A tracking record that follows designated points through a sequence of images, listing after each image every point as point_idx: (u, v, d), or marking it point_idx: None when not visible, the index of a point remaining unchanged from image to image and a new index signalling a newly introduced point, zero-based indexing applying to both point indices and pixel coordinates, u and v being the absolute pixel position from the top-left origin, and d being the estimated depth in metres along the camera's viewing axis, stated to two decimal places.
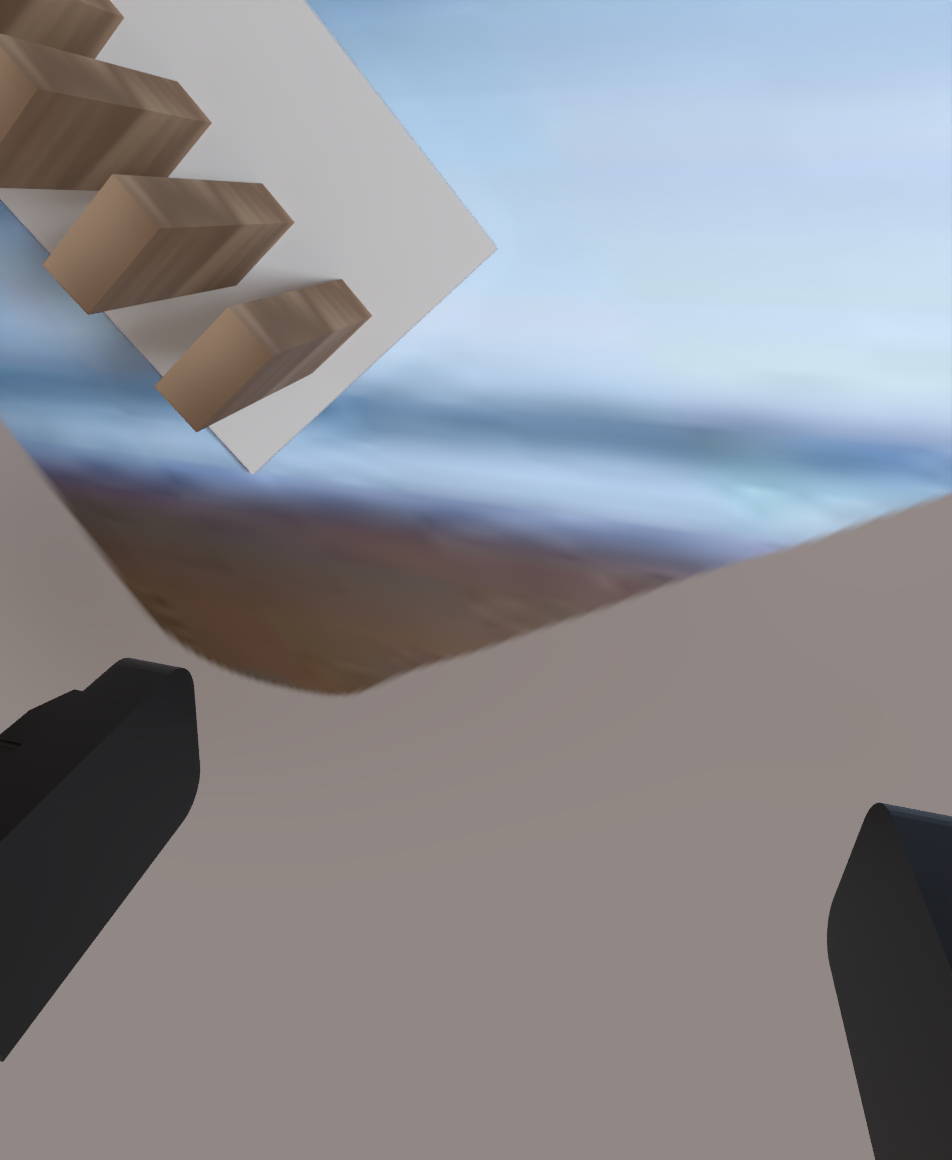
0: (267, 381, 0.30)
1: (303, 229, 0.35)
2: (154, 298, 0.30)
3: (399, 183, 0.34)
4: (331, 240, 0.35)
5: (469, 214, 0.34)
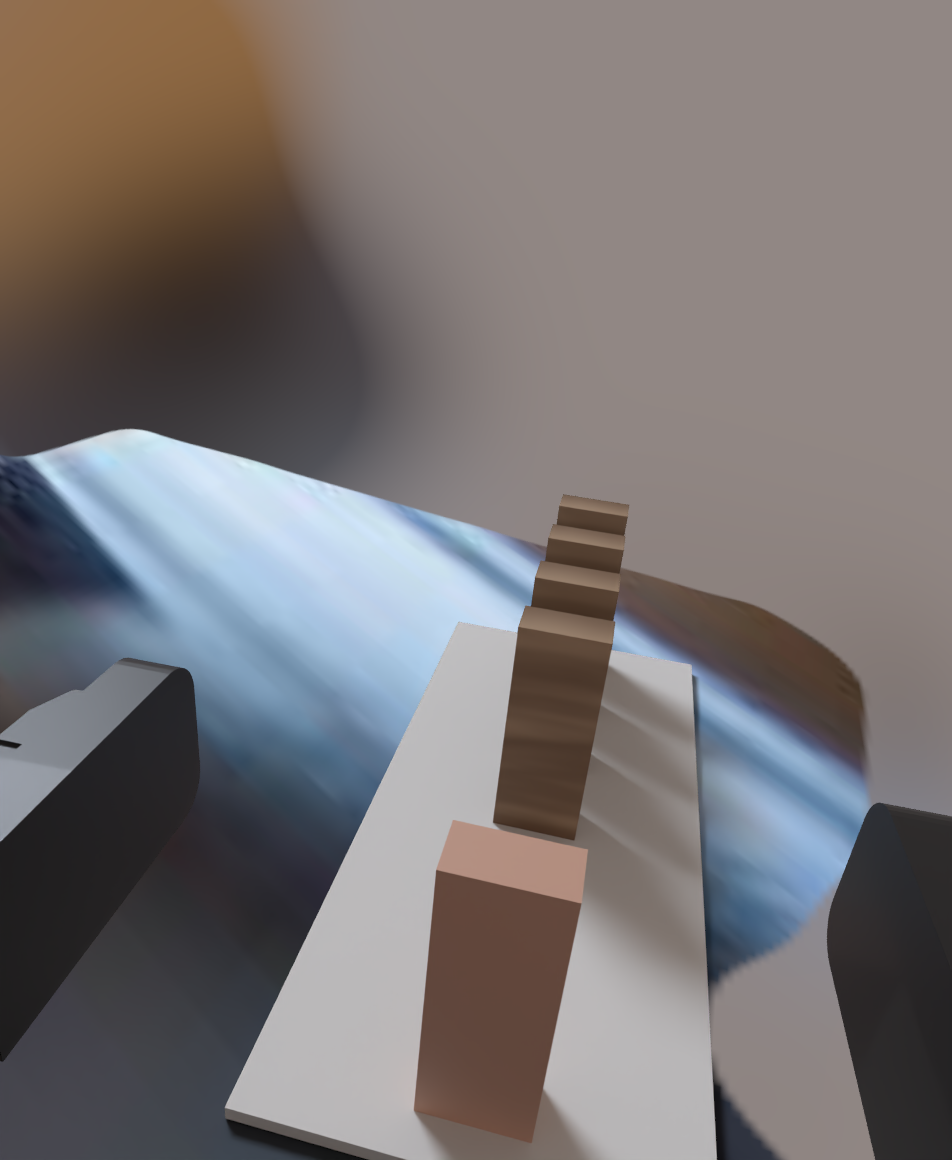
0: None
1: None
2: None
3: (464, 658, 0.52)
4: None
5: None
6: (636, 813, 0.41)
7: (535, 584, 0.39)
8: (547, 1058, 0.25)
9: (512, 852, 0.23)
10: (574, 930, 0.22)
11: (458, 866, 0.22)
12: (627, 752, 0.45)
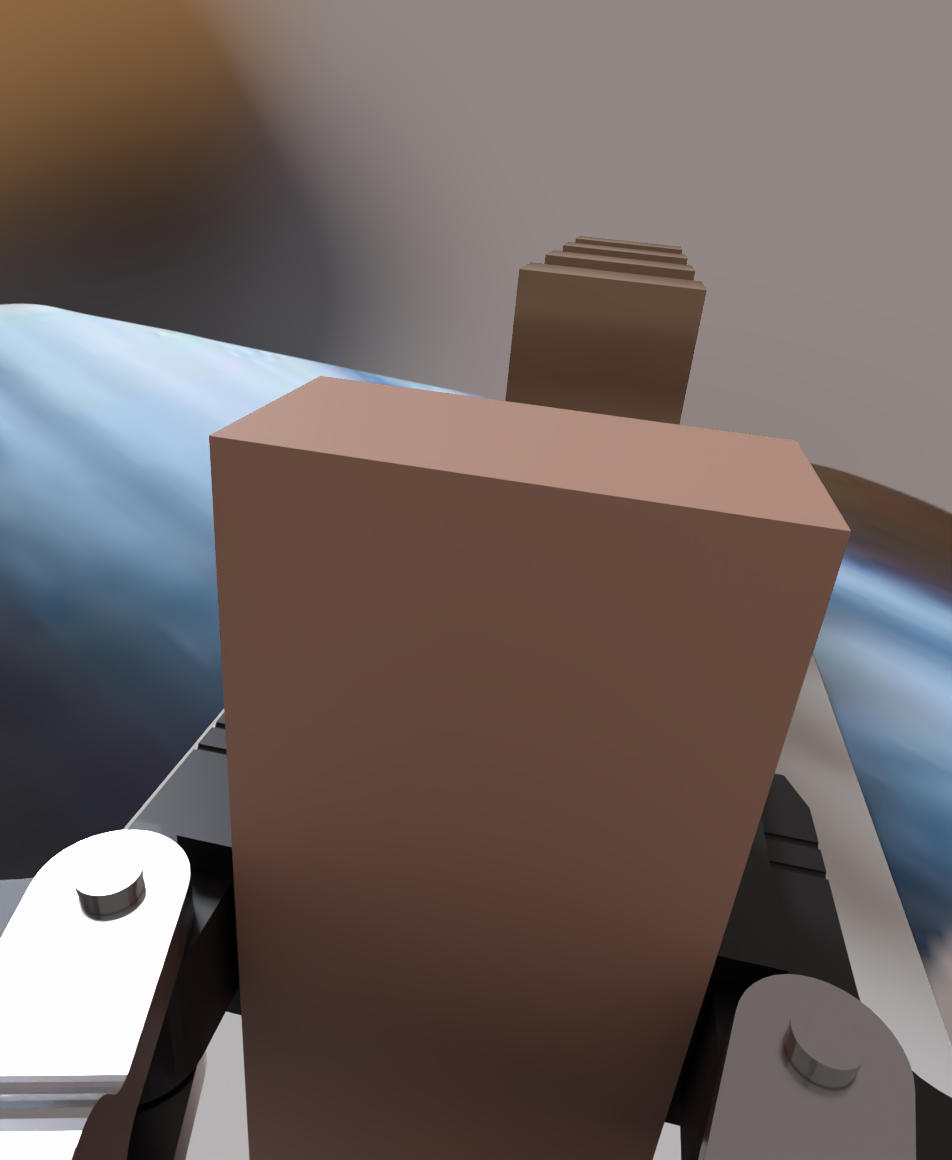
0: None
1: None
2: None
3: None
4: None
5: None
6: None
7: None
8: None
9: (526, 428, 0.06)
10: (798, 679, 0.05)
11: (308, 436, 0.05)
12: None
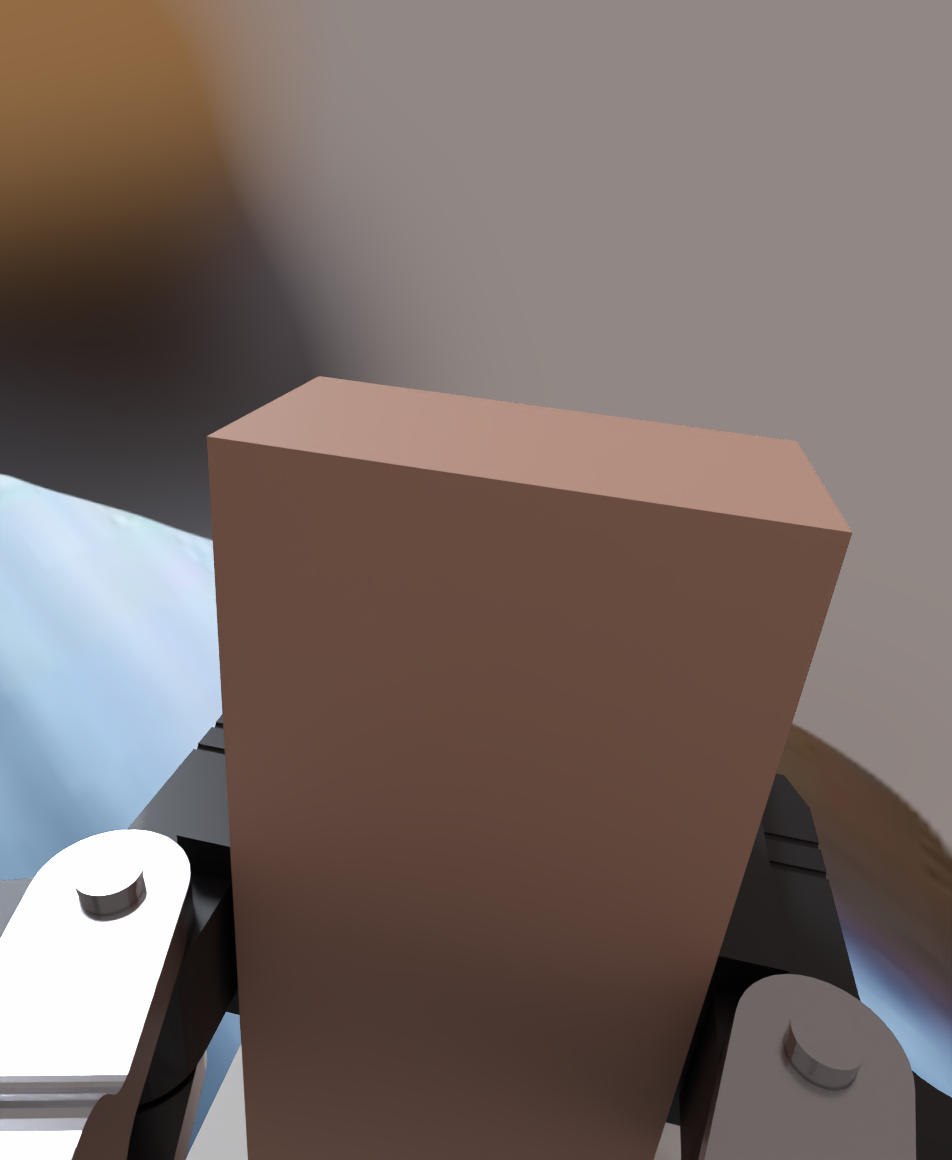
0: None
1: None
2: None
3: None
4: None
5: None
6: None
7: None
8: None
9: (525, 430, 0.06)
10: (799, 681, 0.05)
11: (306, 435, 0.05)
12: None
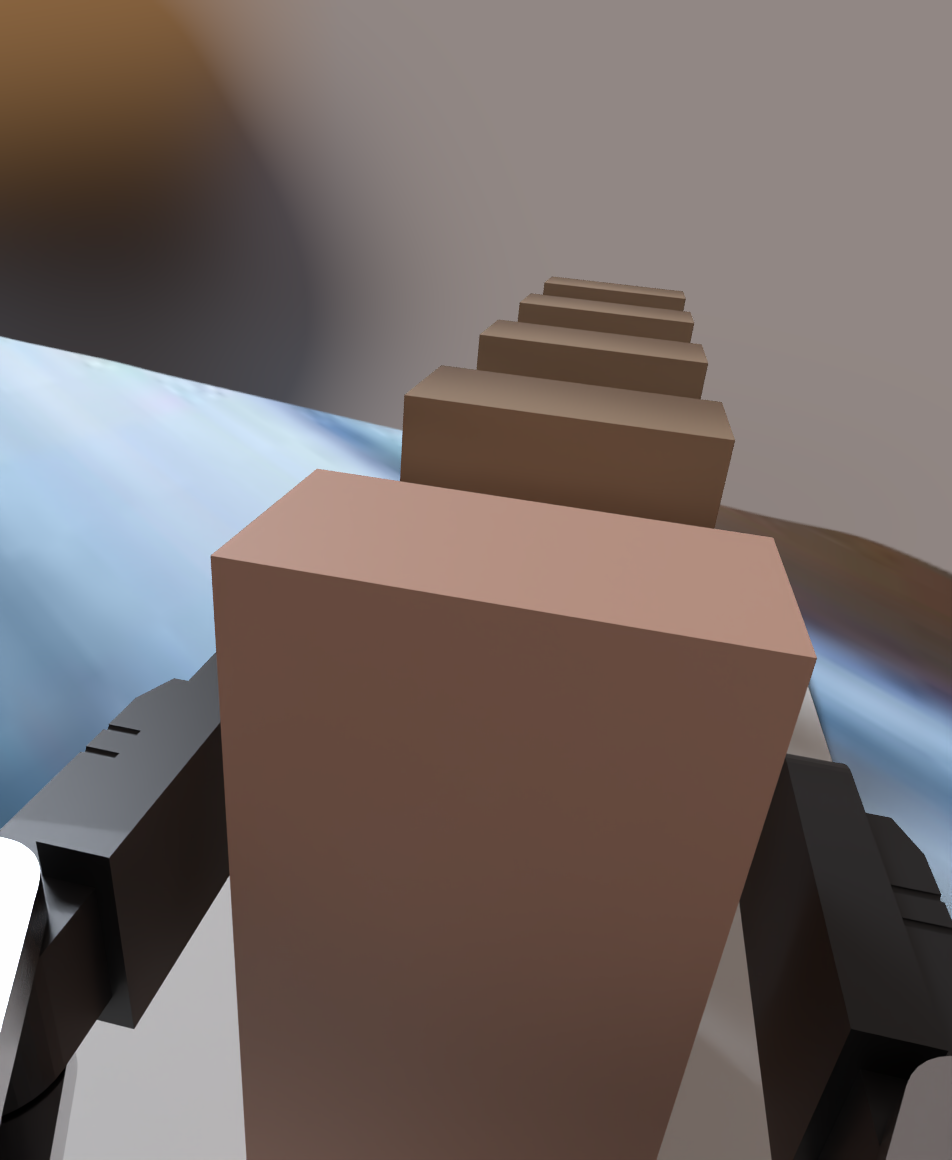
0: None
1: None
2: None
3: None
4: None
5: None
6: (740, 949, 0.16)
7: (481, 356, 0.15)
8: None
9: (514, 532, 0.06)
10: (769, 788, 0.05)
11: (305, 553, 0.06)
12: None
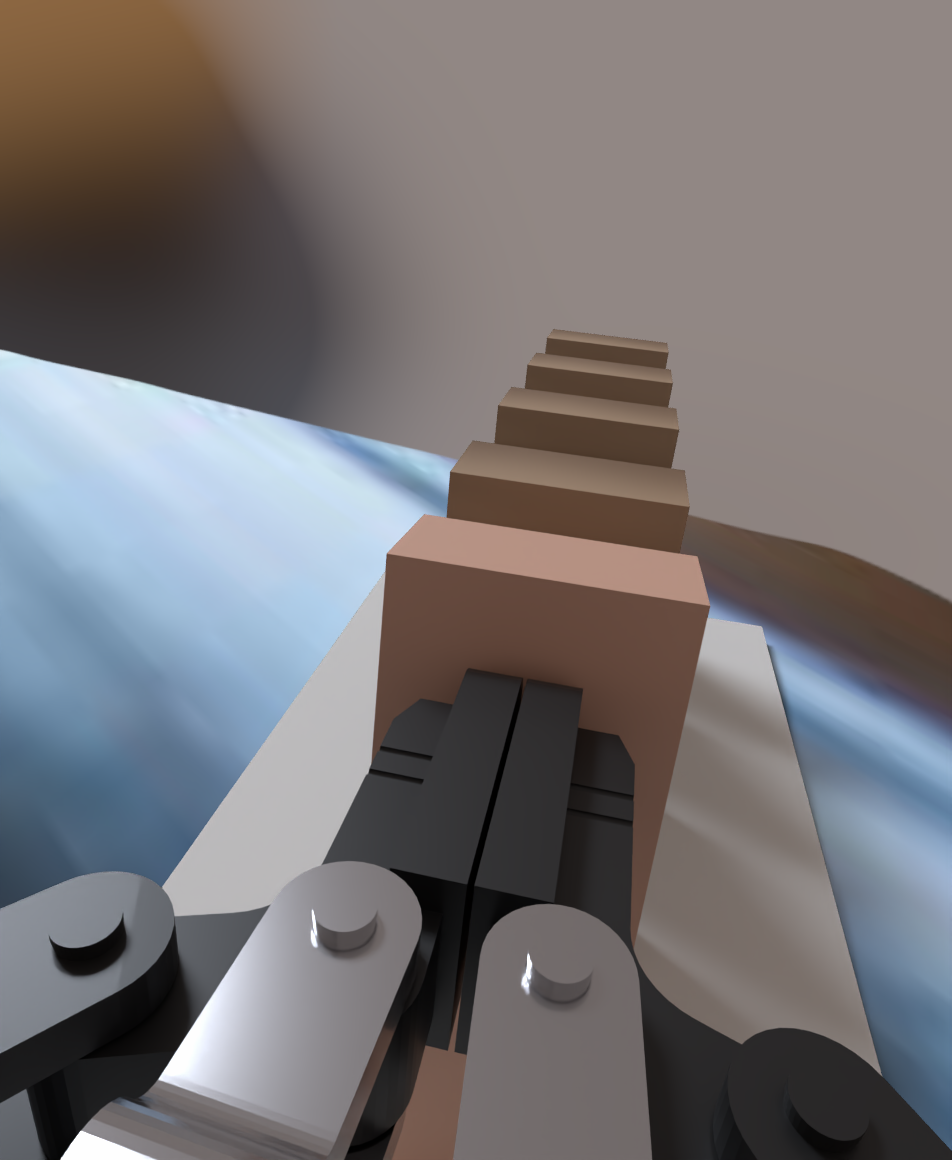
0: None
1: None
2: None
3: None
4: None
5: None
6: (710, 899, 0.20)
7: (499, 422, 0.18)
8: None
9: (547, 549, 0.11)
10: (690, 682, 0.10)
11: (435, 554, 0.10)
12: (677, 773, 0.25)
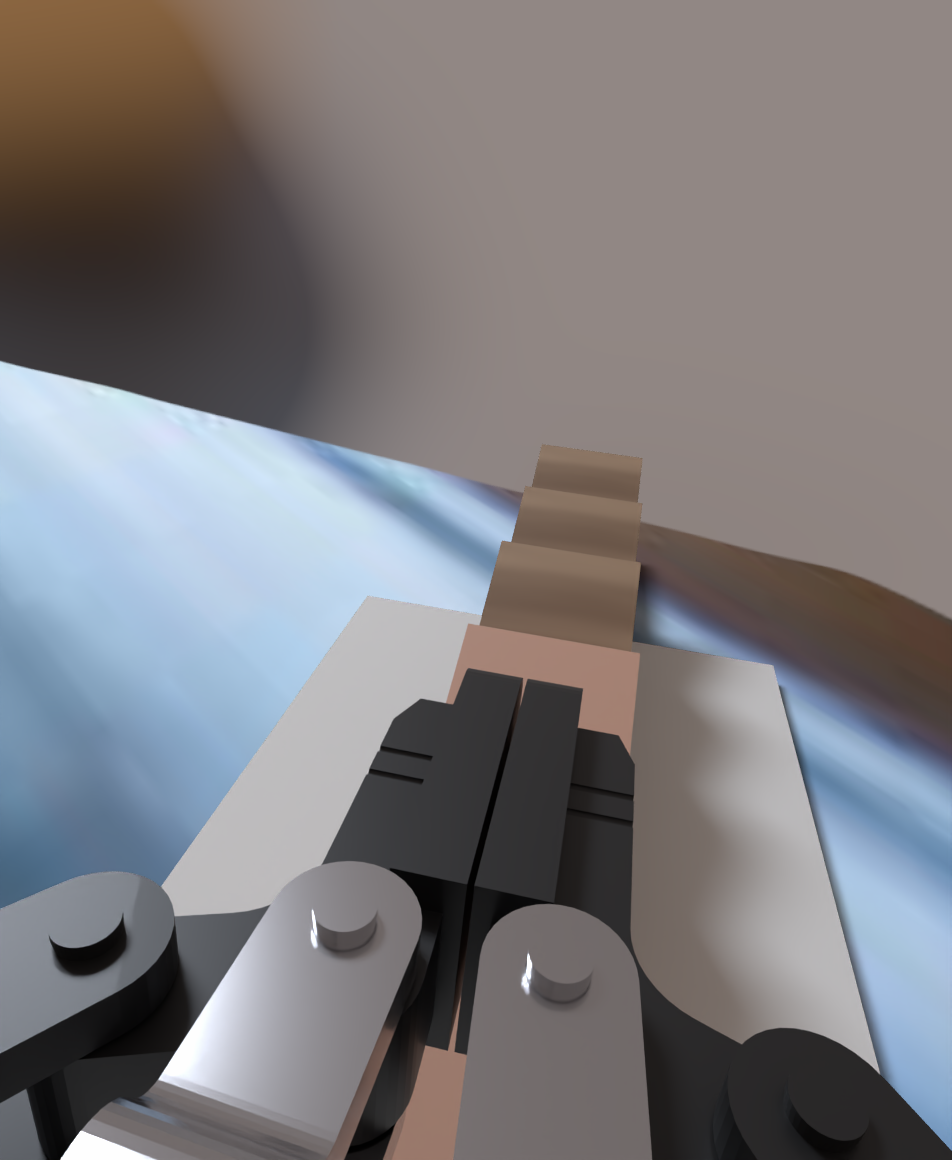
0: None
1: None
2: None
3: (367, 658, 0.29)
4: None
5: None
6: (719, 1013, 0.17)
7: (525, 493, 0.28)
8: None
9: None
10: (634, 690, 0.18)
11: (491, 634, 0.19)
12: (681, 848, 0.22)
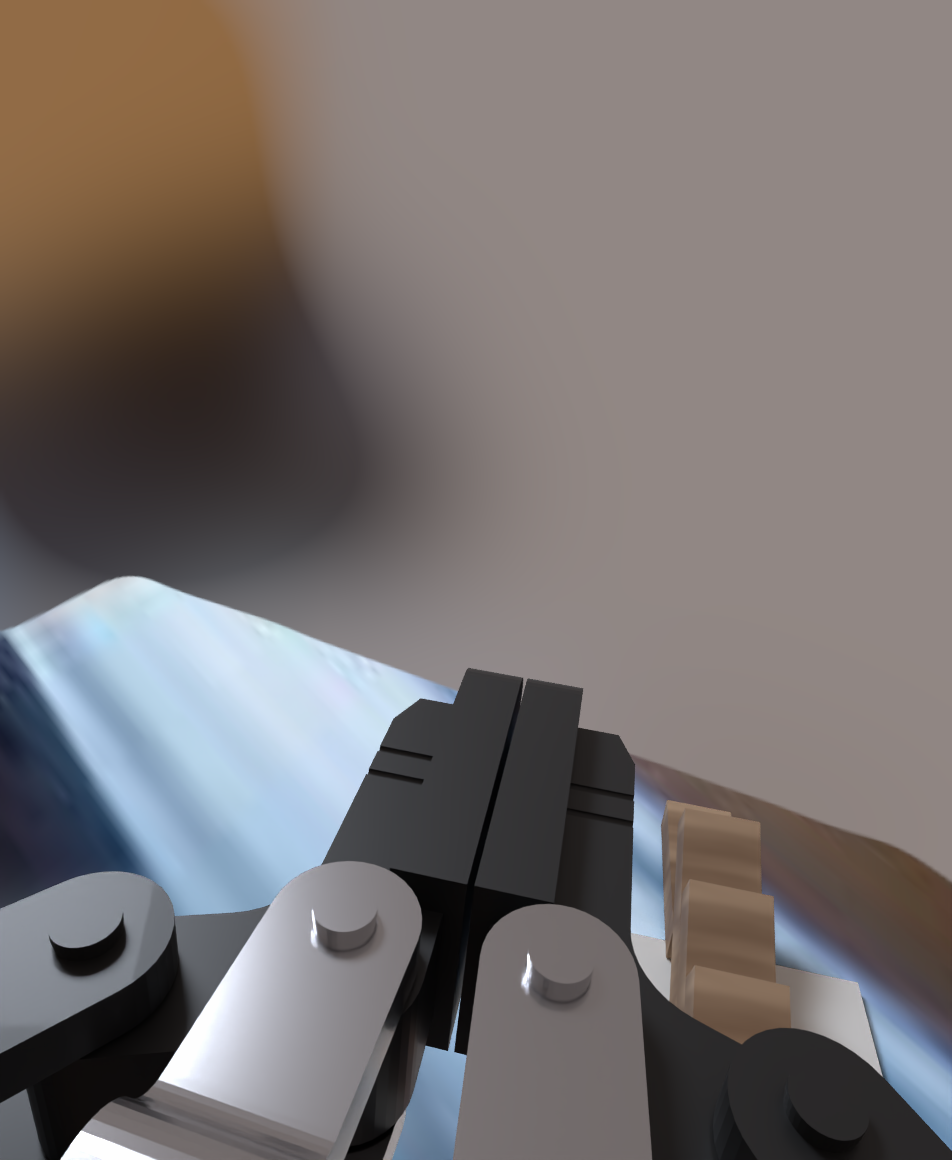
0: None
1: None
2: None
3: None
4: None
5: None
6: None
7: (690, 886, 0.40)
8: None
9: None
10: None
11: None
12: None
